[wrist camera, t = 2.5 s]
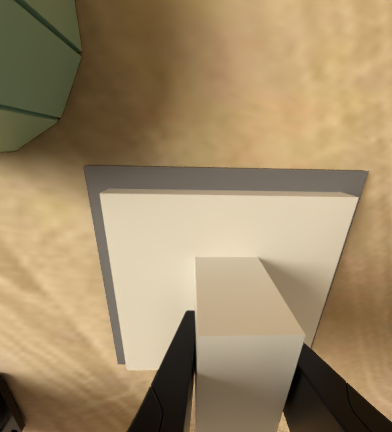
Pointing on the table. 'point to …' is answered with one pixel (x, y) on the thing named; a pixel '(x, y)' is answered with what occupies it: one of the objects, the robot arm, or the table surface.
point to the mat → (203, 180)
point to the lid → (225, 288)
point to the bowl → (35, 66)
